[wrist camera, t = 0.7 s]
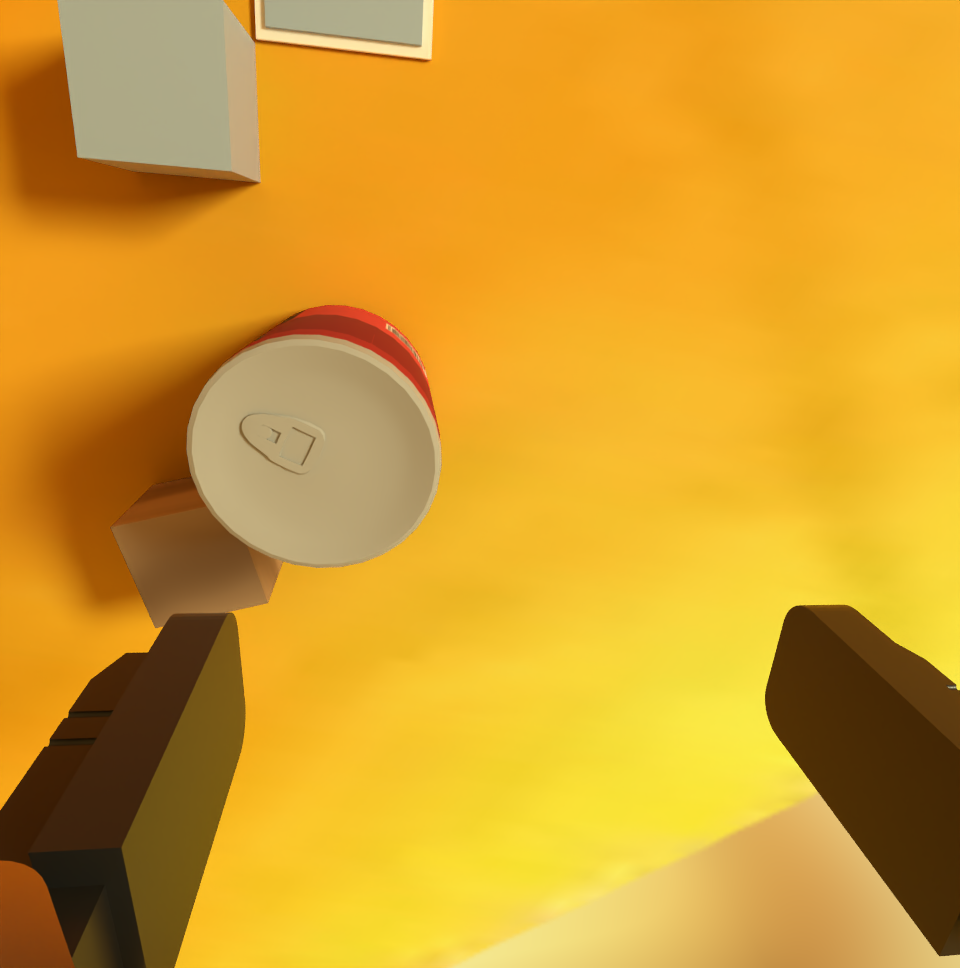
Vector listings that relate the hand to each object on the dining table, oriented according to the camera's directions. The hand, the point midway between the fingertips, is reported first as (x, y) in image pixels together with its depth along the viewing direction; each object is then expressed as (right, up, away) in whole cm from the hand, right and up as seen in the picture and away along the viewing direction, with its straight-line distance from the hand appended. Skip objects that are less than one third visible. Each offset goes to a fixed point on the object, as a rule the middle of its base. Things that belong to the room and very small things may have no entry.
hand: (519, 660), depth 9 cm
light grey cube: (-12, +18, +17) cm, 27 cm away
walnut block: (-13, +1, +23) cm, 26 cm away
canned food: (-7, +7, +21) cm, 23 cm away
